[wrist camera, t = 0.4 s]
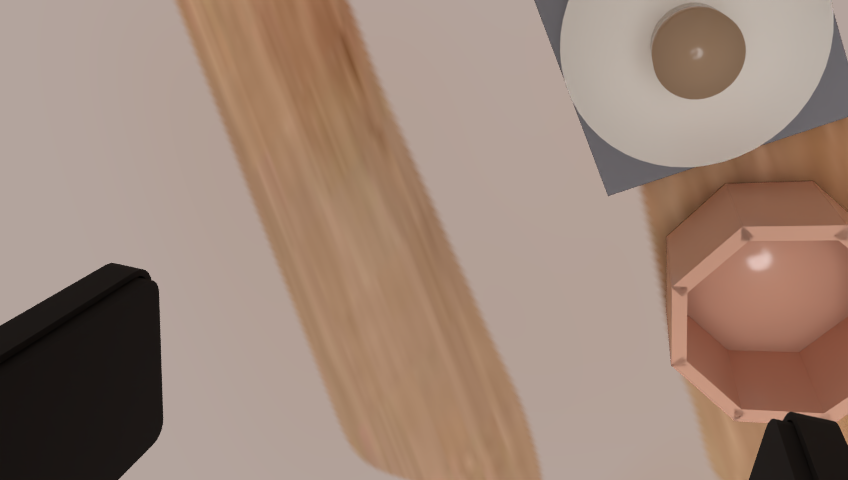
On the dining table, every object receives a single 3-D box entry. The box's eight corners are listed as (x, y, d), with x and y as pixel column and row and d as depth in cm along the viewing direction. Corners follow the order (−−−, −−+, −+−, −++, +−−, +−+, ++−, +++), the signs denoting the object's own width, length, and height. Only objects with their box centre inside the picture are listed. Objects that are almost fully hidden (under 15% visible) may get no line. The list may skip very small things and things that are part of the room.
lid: (691, -158, 30) (702, -181, 25) (889, 24, 30) (939, 37, 25) (512, 54, 34) (491, 70, 29) (686, 208, 35) (695, 250, 30)
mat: (524, -29, 33) (523, -29, 33) (785, -150, 29) (787, -152, 29) (608, 192, 36) (608, 196, 35) (858, 110, 32) (861, 112, 31)
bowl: (770, 142, 33) (796, 179, 28) (914, 272, 33) (968, 333, 28) (627, 271, 37) (625, 326, 31) (758, 386, 37) (779, 460, 32)
